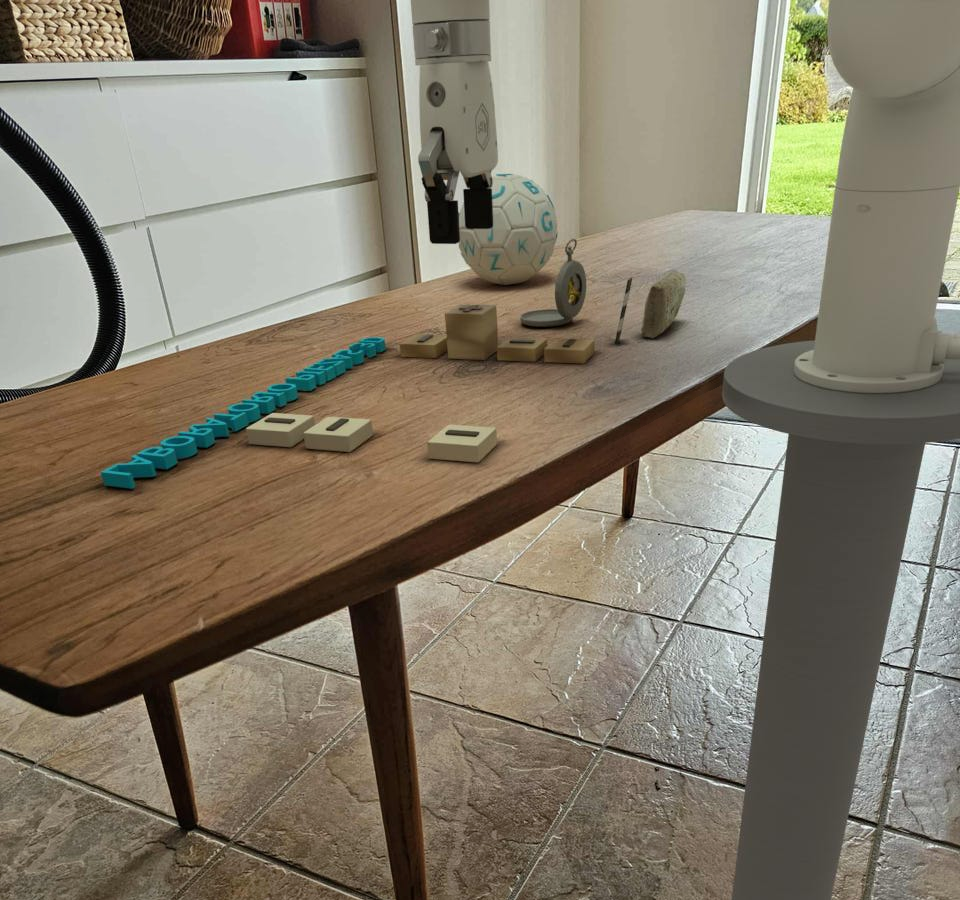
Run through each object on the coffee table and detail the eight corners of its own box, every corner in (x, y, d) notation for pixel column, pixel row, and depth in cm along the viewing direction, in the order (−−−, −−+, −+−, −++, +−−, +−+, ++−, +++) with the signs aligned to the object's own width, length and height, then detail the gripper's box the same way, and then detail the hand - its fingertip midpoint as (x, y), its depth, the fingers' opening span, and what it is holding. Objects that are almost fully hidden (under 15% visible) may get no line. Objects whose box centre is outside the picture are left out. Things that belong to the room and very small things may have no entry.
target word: (497, 444, 77) (496, 425, 76) (478, 462, 74) (477, 443, 73) (275, 428, 85) (272, 410, 84) (248, 444, 81) (244, 426, 81)
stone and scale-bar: (614, 344, 103) (642, 318, 112) (651, 353, 102) (677, 327, 111) (627, 280, 99) (655, 259, 108) (666, 289, 98) (692, 267, 107)
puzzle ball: (498, 271, 147) (493, 168, 139) (577, 277, 139) (576, 168, 131) (440, 289, 137) (431, 180, 129) (521, 296, 129) (517, 180, 121)
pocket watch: (519, 318, 117) (516, 235, 112) (584, 314, 117) (584, 231, 111) (521, 334, 110) (518, 246, 105) (590, 329, 110) (590, 241, 104)
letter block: (498, 349, 104) (496, 303, 102) (484, 360, 101) (482, 312, 98) (463, 348, 106) (459, 303, 103) (448, 358, 102) (444, 312, 100)
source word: (594, 353, 100) (594, 337, 100) (583, 363, 97) (583, 347, 96) (417, 346, 108) (415, 332, 107) (400, 356, 104) (399, 341, 104)
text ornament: (132, 488, 73) (128, 475, 73) (104, 485, 74) (100, 472, 74) (389, 347, 108) (388, 337, 107) (368, 346, 109) (366, 336, 108)
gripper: (453, 43, 80) (464, 250, 89) (517, 43, 93) (521, 223, 102) (378, 48, 82) (396, 249, 91) (451, 48, 96) (461, 223, 105)
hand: (462, 235), depth 97 cm, fingers open, 9 cm apart
